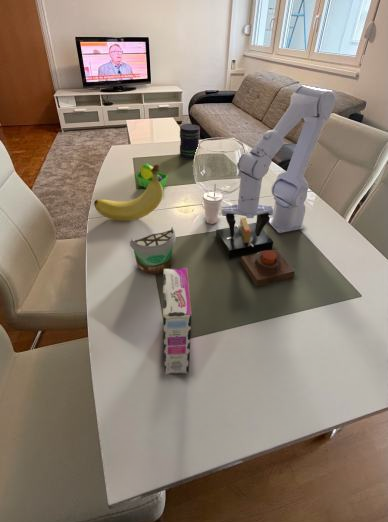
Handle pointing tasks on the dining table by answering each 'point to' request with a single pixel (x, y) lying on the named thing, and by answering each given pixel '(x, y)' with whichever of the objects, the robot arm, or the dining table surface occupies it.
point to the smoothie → (212, 205)
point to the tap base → (236, 244)
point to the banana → (133, 202)
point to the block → (266, 268)
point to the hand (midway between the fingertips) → (244, 234)
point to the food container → (154, 252)
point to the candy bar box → (176, 321)
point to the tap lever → (245, 230)
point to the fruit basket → (149, 176)
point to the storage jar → (189, 140)
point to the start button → (268, 257)
